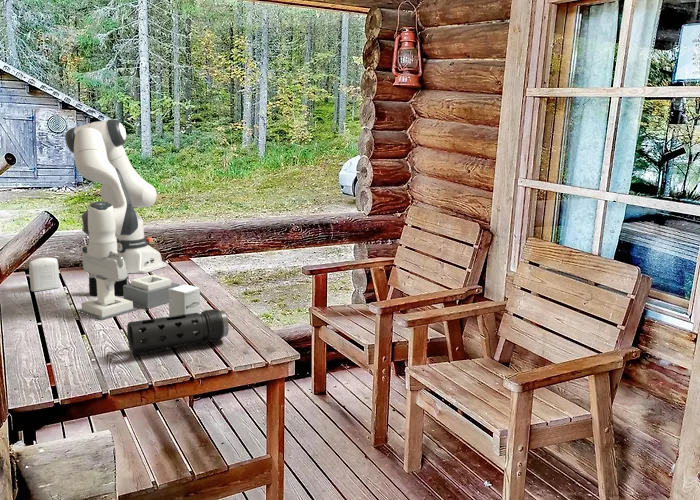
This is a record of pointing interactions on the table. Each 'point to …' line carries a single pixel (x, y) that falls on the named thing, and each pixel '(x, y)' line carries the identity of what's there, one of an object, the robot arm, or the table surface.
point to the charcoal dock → (148, 291)
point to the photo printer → (44, 274)
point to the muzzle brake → (176, 331)
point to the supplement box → (184, 300)
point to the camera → (117, 286)
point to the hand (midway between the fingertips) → (105, 288)
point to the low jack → (107, 308)
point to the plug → (104, 291)
